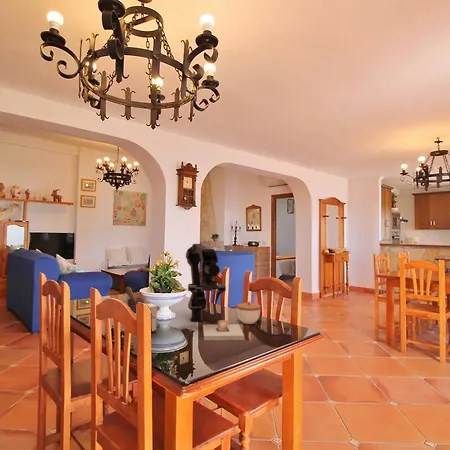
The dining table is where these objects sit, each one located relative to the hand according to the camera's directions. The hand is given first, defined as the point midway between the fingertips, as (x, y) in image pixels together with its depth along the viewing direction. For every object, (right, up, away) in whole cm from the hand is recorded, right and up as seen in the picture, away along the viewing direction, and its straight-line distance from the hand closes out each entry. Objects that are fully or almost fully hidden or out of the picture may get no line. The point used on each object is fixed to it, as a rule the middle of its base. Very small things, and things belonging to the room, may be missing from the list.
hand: (206, 304), depth 163 cm
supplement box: (-28, -11, -8) cm, 31 cm away
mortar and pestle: (-37, -11, +3) cm, 39 cm away
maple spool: (+8, -12, -9) cm, 17 cm away
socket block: (+8, -12, -9) cm, 17 cm away
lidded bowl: (+22, -13, +12) cm, 28 cm away
